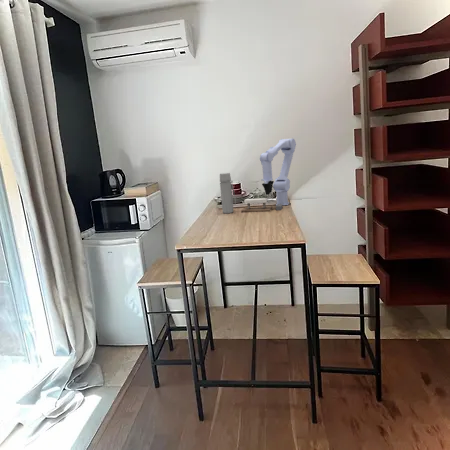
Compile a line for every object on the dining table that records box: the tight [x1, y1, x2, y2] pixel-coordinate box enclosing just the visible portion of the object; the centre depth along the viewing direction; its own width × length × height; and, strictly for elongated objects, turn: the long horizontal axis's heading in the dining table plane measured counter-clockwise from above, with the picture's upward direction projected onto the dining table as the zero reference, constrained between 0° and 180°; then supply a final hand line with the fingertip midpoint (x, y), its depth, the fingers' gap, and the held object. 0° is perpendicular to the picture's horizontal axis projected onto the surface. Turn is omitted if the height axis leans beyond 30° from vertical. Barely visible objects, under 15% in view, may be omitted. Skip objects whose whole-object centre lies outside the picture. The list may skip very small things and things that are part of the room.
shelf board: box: [244, 197, 269, 204], centre depth 242 cm, size 14×5×2 cm, turn 74°
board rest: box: [275, 203, 283, 211], centre depth 241 cm, size 8×3×2 cm, turn 164°
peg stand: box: [240, 202, 273, 213], centre depth 243 cm, size 10×18×5 cm, turn 74°
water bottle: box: [219, 172, 237, 214], centre depth 242 cm, size 9×8×25 cm
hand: (268, 193), depth 243 cm, fingers open, 7 cm apart
